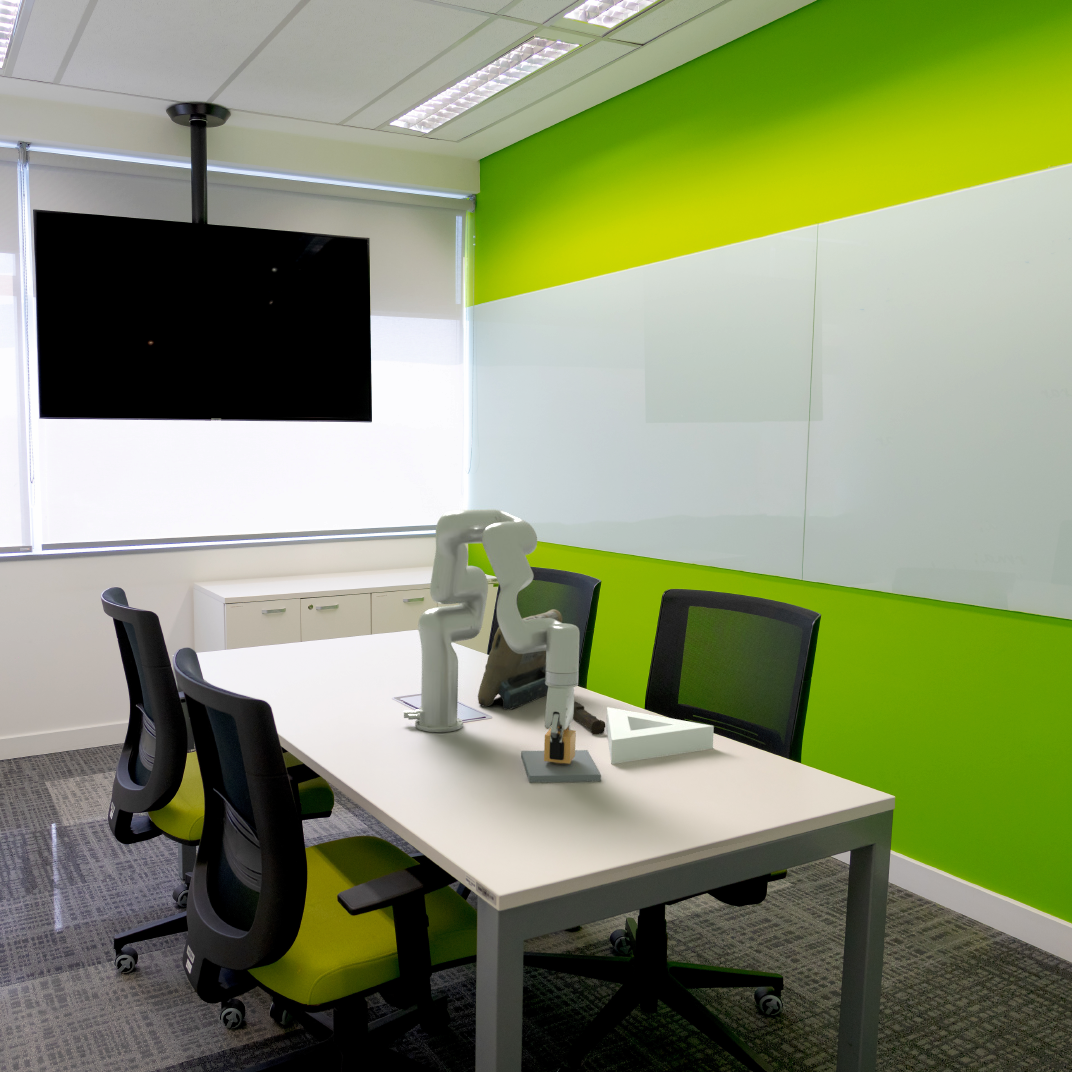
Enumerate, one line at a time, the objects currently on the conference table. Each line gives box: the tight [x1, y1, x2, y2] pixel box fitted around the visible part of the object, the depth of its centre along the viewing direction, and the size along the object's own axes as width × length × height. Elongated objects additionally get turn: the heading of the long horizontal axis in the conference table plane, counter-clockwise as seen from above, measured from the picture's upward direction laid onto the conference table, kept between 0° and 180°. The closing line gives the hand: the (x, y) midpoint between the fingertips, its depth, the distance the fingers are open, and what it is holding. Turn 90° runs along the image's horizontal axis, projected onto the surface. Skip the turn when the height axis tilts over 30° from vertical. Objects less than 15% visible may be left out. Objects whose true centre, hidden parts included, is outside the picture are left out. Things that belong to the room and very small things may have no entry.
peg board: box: [520, 749, 602, 783], centre depth 226 cm, size 16×18×6 cm
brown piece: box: [573, 701, 606, 736], centre depth 264 cm, size 19×4×5 cm, turn 17°
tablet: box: [477, 608, 564, 710], centre depth 291 cm, size 33×14×25 cm, turn 156°
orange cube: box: [543, 727, 577, 764], centre depth 226 cm, size 6×6×6 cm
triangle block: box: [605, 706, 715, 765], centre depth 245 cm, size 30×26×6 cm
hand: (559, 754), depth 226 cm, fingers closed on orange cube, 5 cm apart
